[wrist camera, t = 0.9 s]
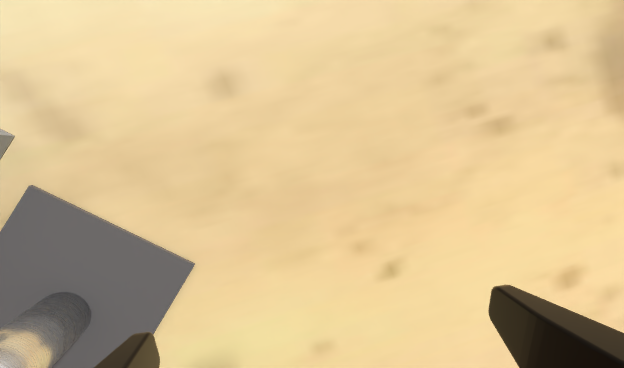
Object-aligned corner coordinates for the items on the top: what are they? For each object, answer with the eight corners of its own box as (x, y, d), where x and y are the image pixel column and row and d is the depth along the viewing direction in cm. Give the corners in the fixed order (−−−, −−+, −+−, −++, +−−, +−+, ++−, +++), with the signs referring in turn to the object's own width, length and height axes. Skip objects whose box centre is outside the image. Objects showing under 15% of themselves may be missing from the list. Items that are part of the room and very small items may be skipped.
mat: (95, 431, 20) (93, 435, 19) (-84, 372, 17) (-89, 375, 17) (195, 263, 20) (194, 265, 20) (32, 185, 18) (29, 185, 17)
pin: (74, 349, 19) (-79, 520, 10) (22, 328, 18) (-192, 493, 9) (101, 304, 19) (-27, 435, 10) (50, 283, 18) (-136, 402, 9)
